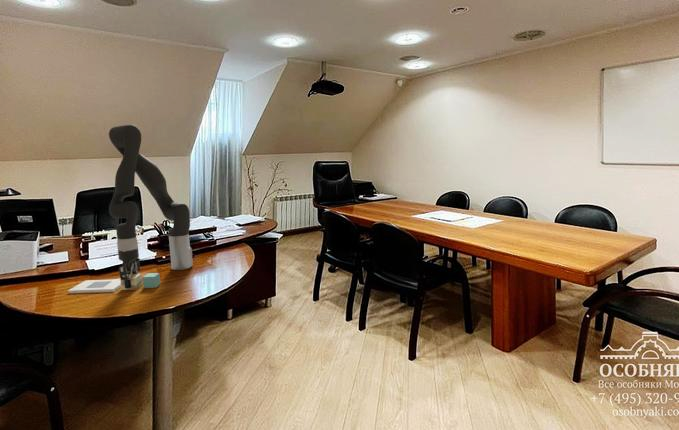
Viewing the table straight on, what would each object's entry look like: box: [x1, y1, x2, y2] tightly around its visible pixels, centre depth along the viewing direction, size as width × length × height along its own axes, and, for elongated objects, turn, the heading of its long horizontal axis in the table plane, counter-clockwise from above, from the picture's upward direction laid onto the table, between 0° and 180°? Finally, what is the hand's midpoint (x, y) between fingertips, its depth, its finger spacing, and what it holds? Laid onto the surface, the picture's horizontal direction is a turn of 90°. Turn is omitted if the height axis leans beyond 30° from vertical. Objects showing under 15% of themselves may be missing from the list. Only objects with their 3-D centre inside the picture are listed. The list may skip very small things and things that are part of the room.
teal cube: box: [142, 272, 161, 289], centre depth 158 cm, size 5×5×5 cm
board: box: [67, 278, 121, 294], centre depth 157 cm, size 18×12×1 cm, turn 95°
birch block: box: [119, 273, 143, 291], centre depth 157 cm, size 6×6×5 cm
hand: (131, 285), depth 157 cm, fingers closed on birch block, 6 cm apart
